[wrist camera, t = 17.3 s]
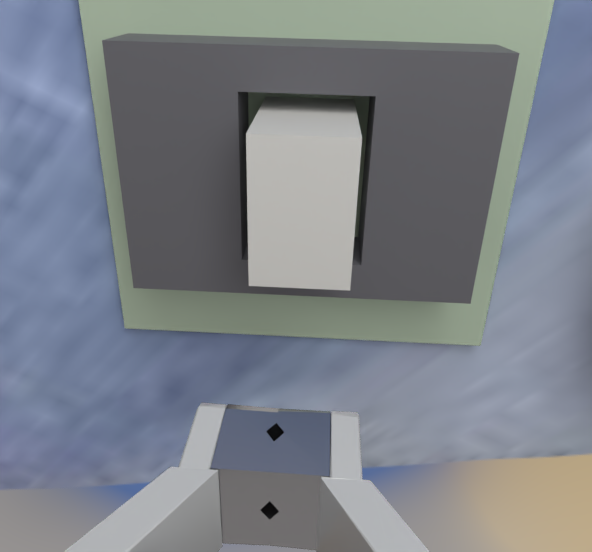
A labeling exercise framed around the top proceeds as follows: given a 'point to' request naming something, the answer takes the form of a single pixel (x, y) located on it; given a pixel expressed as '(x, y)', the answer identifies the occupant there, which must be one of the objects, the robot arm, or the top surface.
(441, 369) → the top surface
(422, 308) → the board
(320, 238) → the plug
